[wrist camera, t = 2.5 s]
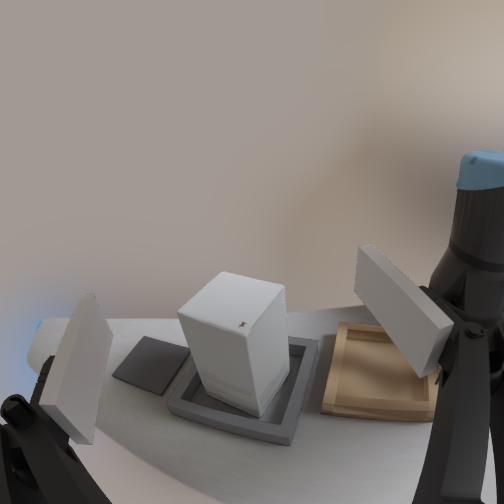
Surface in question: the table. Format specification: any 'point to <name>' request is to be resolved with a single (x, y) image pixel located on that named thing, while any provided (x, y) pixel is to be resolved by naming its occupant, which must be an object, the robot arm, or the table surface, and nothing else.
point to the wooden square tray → (375, 379)
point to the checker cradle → (242, 425)
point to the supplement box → (239, 340)
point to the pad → (152, 364)
